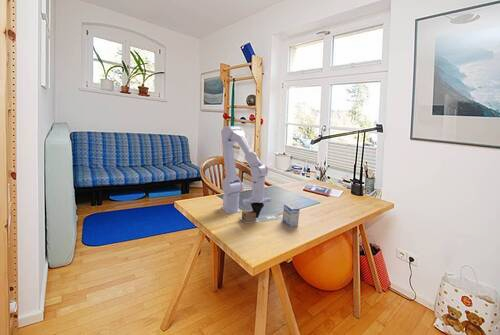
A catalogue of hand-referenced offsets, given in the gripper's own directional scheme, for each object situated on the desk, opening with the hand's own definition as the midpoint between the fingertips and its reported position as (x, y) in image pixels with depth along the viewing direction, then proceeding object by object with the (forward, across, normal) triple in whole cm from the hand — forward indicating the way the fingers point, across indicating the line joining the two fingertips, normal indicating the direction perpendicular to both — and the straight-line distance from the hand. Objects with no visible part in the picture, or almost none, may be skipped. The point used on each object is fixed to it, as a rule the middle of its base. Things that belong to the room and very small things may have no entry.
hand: (256, 217), depth 133 cm
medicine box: (+2, +14, -10) cm, 17 cm away
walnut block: (+1, -4, 0) cm, 4 cm away
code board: (+1, +2, 0) cm, 3 cm away
